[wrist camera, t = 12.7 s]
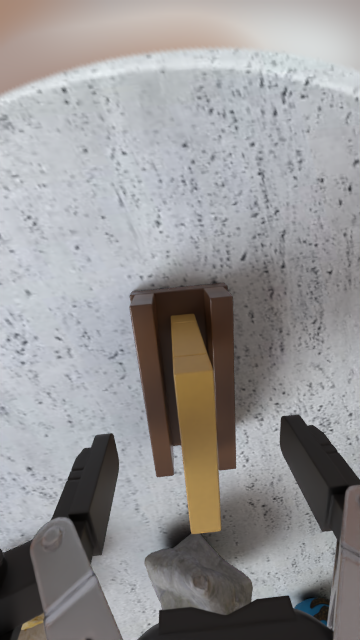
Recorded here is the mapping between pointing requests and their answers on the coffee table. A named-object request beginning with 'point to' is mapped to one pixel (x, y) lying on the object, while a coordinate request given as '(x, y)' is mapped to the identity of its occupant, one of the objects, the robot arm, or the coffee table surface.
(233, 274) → the coffee table surface
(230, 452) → the holder
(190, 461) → the frame
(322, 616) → the ornament
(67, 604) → the robot arm
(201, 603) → the fossil
